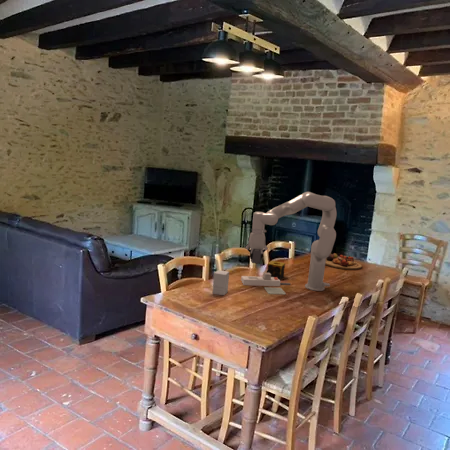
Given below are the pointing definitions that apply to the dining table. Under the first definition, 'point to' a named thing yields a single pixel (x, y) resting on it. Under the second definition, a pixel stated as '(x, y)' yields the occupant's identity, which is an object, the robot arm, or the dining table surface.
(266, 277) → the small plug
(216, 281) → the supplement box
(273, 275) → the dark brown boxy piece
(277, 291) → the felt pad
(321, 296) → the dining table surface
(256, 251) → the block
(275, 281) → the power strip
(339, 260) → the wooden plate with food
